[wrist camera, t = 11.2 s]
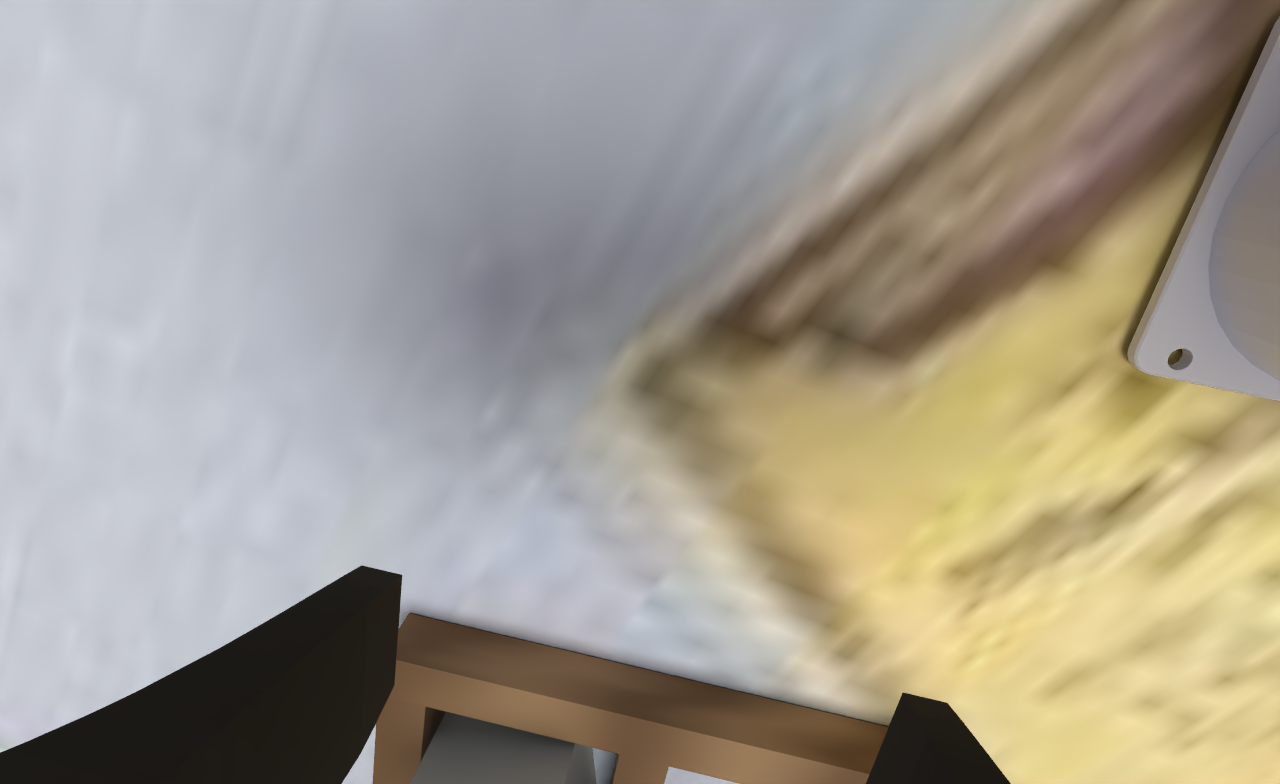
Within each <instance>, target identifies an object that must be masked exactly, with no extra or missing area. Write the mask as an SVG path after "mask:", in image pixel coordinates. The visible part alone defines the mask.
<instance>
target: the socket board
mask: <svg viewBox="0 0 1280 784" xmlns="http://www.w3.org/2000/svg"><path fill="white" fill-rule="evenodd" d="M445 711H446V712H450V713H454V714H458V715H462V716H466V717H470V718H474V719H479V720H483V721H487V722H491V723H495V724H499V725H503V726H507V727H511V728H515V729H519V730H523V731H528V732H532V733H536V734H540V735H544V736H548V737H552V738H556V739H560V740H564V741H568V742H572V743H576V744H581V745H585V746H589V747H593V748H597V749H601V750H605V751H609V752H613V753H617V758H616V762H615V766H614V771H613V775H612V780H611V784H664V782H665V778H666V774H667V771H668V767H669V766H670V767H674V768H678V769H683V770H687V771H691V772H695V773H699V774H703V775H707V776H711V777H715V778H719V779H723V780H727V781H732V782H736V783H740V784H866V782H867V779H868V777H869V775H870V772H871V770H872V767H873V765H874V762H875V760H876V757H877V755H878V752H879V750H880V747H881V745H882V743H883V740H884V738H885V735H886V733H887V730H888V728H889V727H886V726H881V725H877V724H873V723H869V722H865V721H860V720H856V719H852V718H848V717H843V716H839V715H835V714H831V713H827V712H822V711H818V710H814V709H810V708H806V707H801V706H797V705H793V704H789V703H785V702H780V701H776V700H772V699H768V698H764V697H759V696H755V695H751V694H747V693H743V692H738V691H734V690H730V689H726V688H722V687H717V686H713V685H709V684H705V683H701V682H696V681H692V680H688V679H684V678H679V677H675V676H671V675H667V674H663V673H658V672H654V671H650V670H646V669H642V668H637V667H633V666H629V665H625V664H621V663H616V662H612V661H608V660H604V659H600V658H595V657H591V656H587V655H583V654H579V653H574V652H570V651H566V650H562V649H558V648H553V647H549V646H545V645H541V644H536V643H532V642H528V641H524V640H520V639H515V638H511V637H507V636H503V635H499V634H494V633H490V632H486V631H482V630H478V629H473V628H469V627H465V626H461V625H457V624H452V623H448V622H444V621H440V620H436V619H431V618H427V617H423V616H419V615H415V614H410V613H409V615H408V616H407V618H406V619H405V621H404V622H403V624H402V625H401V627H400V628H399V629H398V641H397V656H396V670H395V685H394V687H393V689H392V691H391V693H390V696H389V698H388V700H387V702H386V704H385V706H384V708H383V710H382V712H381V714H380V716H379V718H378V720H377V722H376V738H375V755H374V772H373V784H410V783H411V781H412V779H413V777H414V775H415V773H416V771H417V769H418V767H419V765H420V763H421V761H422V759H423V757H424V755H425V753H426V751H427V749H428V747H429V745H430V743H431V741H432V739H433V737H434V735H435V733H436V731H437V729H438V727H439V725H440V723H441V721H442V719H443V717H444V715H445Z"/></svg>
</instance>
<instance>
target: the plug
mask: <svg viewBox="0 0 1280 784" xmlns="http://www.w3.org/2000/svg"><path fill="white" fill-rule="evenodd" d="M410 784H596V776H595V767H594V758H593V749H592V747H589V746H585V745H581V744H576V743H572V742H568V741H564V740H560V739H556V738H552V737H548V736H544V735H540V734H536V733H532V732H528V731H523V730H519V729H515V728H511V727H507V726H503V725H499V724H495V723H491V722H487V721H483V720H479V719H474V718H470V717H466V716H462V715H458V714H454V713H450V712H446V713H445V715H444V717H443V719H442V721H441V723H440V725H439V727H438V729H437V731H436V733H435V735H434V737H433V739H432V741H431V743H430V745H429V747H428V749H427V751H426V753H425V755H424V757H423V759H422V761H421V763H420V765H419V767H418V769H417V771H416V773H415V775H414V777H413V779H412V781H411V783H410Z"/></svg>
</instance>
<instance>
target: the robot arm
mask: <svg viewBox="0 0 1280 784" xmlns="http://www.w3.org/2000/svg"><path fill="white" fill-rule="evenodd" d="M1178 349H1182V351H1183V353H1182V357H1181V358H1180V360H1179V361H1178V362H1176V363H1174V364H1172V365H1168V357H1169V356H1170V355H1171V353H1172V352H1174V351H1176V350H1178ZM1127 355H1128V360H1129V362H1130V363H1131V364H1132V366H1133V367H1135V368H1136V369H1138V370H1140V371H1142V372H1144V373H1147V374H1150V375H1155V376H1160V377H1165V378H1169V379H1174V380H1179V381H1184V382H1189V383H1194V384H1199V385H1203V386H1208V387H1213V388H1218V389H1223V390H1228V391H1233V392H1237V393H1242V394H1247V395H1252V396H1257V397H1262V398H1267V399H1271V400H1276V401H1280V17H1279V18H1278V20H1277V21H1276V23H1275V25H1274V27H1273V29H1272V31H1271V33H1270V36H1269V38H1268V40H1267V42H1266V44H1265V47H1264V49H1263V51H1262V53H1261V55H1260V58H1259V60H1258V62H1257V64H1256V67H1255V69H1254V71H1253V73H1252V75H1251V78H1250V80H1249V82H1248V84H1247V86H1246V89H1245V91H1244V93H1243V95H1242V98H1241V100H1240V102H1239V104H1238V106H1237V109H1236V111H1235V113H1234V115H1233V117H1232V120H1231V122H1230V124H1229V126H1228V128H1227V131H1226V133H1225V135H1224V137H1223V140H1222V142H1221V144H1220V146H1219V148H1218V151H1217V153H1216V155H1215V157H1214V159H1213V162H1212V164H1211V166H1210V168H1209V171H1208V173H1207V175H1206V177H1205V179H1204V182H1203V184H1202V186H1201V188H1200V190H1199V193H1198V195H1197V197H1196V199H1195V202H1194V204H1193V206H1192V208H1191V210H1190V213H1189V215H1188V217H1187V219H1186V221H1185V224H1184V226H1183V228H1182V230H1181V232H1180V235H1179V237H1178V239H1177V241H1176V244H1175V246H1174V248H1173V250H1172V252H1171V255H1170V257H1169V259H1168V261H1167V263H1166V266H1165V268H1164V270H1163V272H1162V275H1161V277H1160V279H1159V281H1158V283H1157V286H1156V288H1155V290H1154V292H1153V294H1152V297H1151V299H1150V301H1149V303H1148V306H1147V308H1146V310H1145V312H1144V314H1143V317H1142V319H1141V321H1140V323H1139V325H1138V328H1137V330H1136V332H1135V334H1134V336H1133V339H1132V341H1131V343H1130V345H1129V349H1128V353H1127ZM401 584H402V575H400V574H396V573H391V572H387V571H383V570H379V569H374V568H370V567H366V566H360V567H358V568H357V569H355V570H353V571H351V572H350V573H348V574H346V575H344V576H343V577H341V578H339V579H338V580H336V581H334V582H333V583H331V584H329V585H327V586H326V587H324V588H322V589H321V590H319V591H317V592H316V593H314V594H312V595H311V596H309V597H307V598H306V599H304V600H302V601H300V602H299V603H297V604H295V605H294V606H292V607H290V608H289V609H287V610H285V611H284V612H282V613H280V614H279V615H277V616H275V617H273V618H272V619H270V620H268V621H267V622H265V623H263V624H261V625H260V626H258V627H256V628H254V629H253V630H251V631H249V632H247V633H246V634H244V635H242V636H240V637H239V638H237V639H235V640H233V641H232V642H230V643H228V644H226V645H225V646H223V647H221V648H219V649H217V650H215V651H214V652H212V653H210V654H208V655H206V656H204V657H202V658H200V659H198V660H196V661H194V662H193V663H191V664H189V665H187V666H185V667H183V668H181V669H179V670H177V671H175V672H173V673H172V674H170V675H168V676H166V677H164V678H162V679H160V680H158V681H156V682H154V683H152V684H151V685H149V686H147V687H145V688H143V689H141V690H139V691H137V692H135V693H133V694H131V695H129V696H127V697H125V698H123V699H121V700H119V701H116V702H114V703H112V704H110V705H108V706H106V707H104V708H102V709H99V710H97V711H95V712H93V713H91V714H89V715H87V716H84V717H82V718H80V719H78V720H75V721H73V722H71V723H68V724H66V725H64V726H62V727H59V728H57V729H55V730H53V731H50V732H48V733H46V734H44V735H41V736H39V737H37V738H34V739H32V740H30V741H28V742H25V743H23V744H20V745H18V746H16V747H13V748H11V749H8V750H6V751H3V752H1V753H0V784H342V782H343V780H344V779H345V777H346V776H347V774H348V773H349V771H350V769H351V768H352V766H353V765H354V763H355V761H356V760H357V758H358V757H359V755H360V754H361V752H362V750H363V748H364V746H365V744H366V742H367V740H368V738H369V736H370V734H371V732H372V730H373V728H374V726H375V724H376V722H377V720H378V718H379V716H380V714H381V712H382V710H383V708H384V706H385V704H386V702H387V700H388V698H389V696H390V693H391V691H392V689H393V687H394V685H395V670H396V656H397V641H398V627H399V613H400V598H401ZM866 784H1011V783H1010V782H1009V781H1008V780H1007V778H1006V777H1005V776H1004V774H1003V773H1002V772H1001V771H1000V769H999V768H998V767H997V765H996V764H995V763H994V762H993V760H992V759H991V758H990V756H989V755H988V754H987V752H986V751H985V750H984V749H983V747H982V746H981V745H980V743H979V742H978V741H977V740H976V738H975V737H974V736H973V734H972V733H971V732H970V731H969V729H968V728H967V727H966V725H965V724H964V723H963V722H962V720H961V719H960V718H959V717H958V715H957V714H956V713H955V712H954V711H953V709H952V708H951V707H950V706H949V705H948V703H945V702H941V701H937V700H932V699H928V698H924V697H920V696H915V695H911V694H907V693H902V696H901V698H900V701H899V703H898V706H897V708H896V710H895V713H894V715H893V718H892V720H891V723H890V725H889V728H888V730H887V733H886V735H885V738H884V740H883V743H882V745H881V747H880V750H879V752H878V755H877V757H876V760H875V762H874V765H873V767H872V770H871V772H870V775H869V777H868V779H867V782H866Z"/></svg>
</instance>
